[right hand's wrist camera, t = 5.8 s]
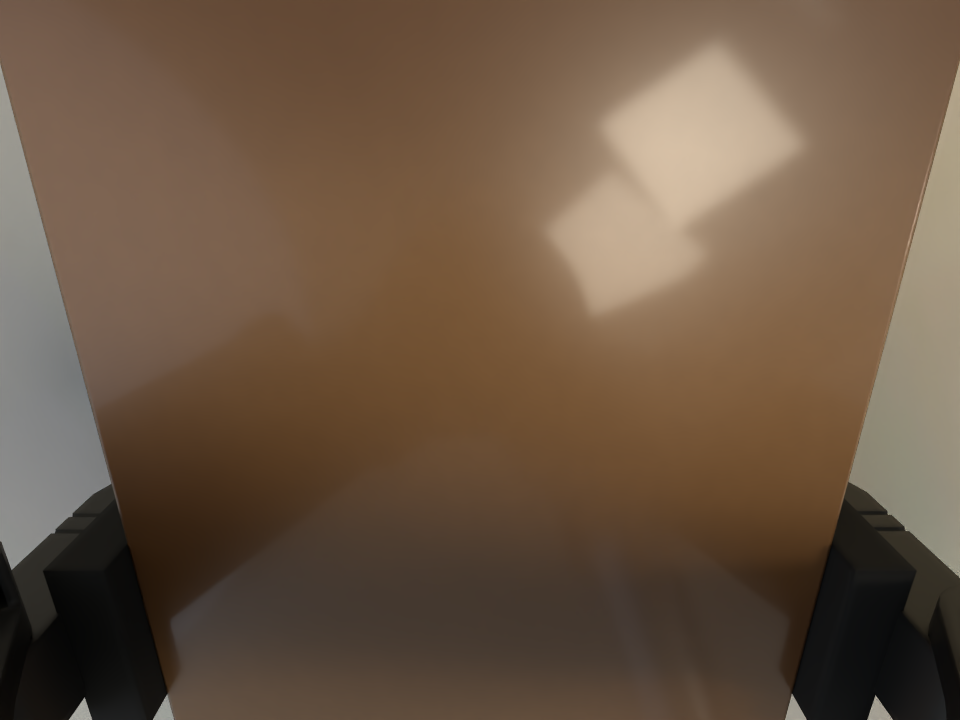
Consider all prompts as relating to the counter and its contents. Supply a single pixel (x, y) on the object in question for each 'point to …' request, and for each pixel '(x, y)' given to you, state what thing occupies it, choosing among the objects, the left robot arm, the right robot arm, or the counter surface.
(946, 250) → the counter surface
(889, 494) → the counter surface
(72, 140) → the wooden beam
